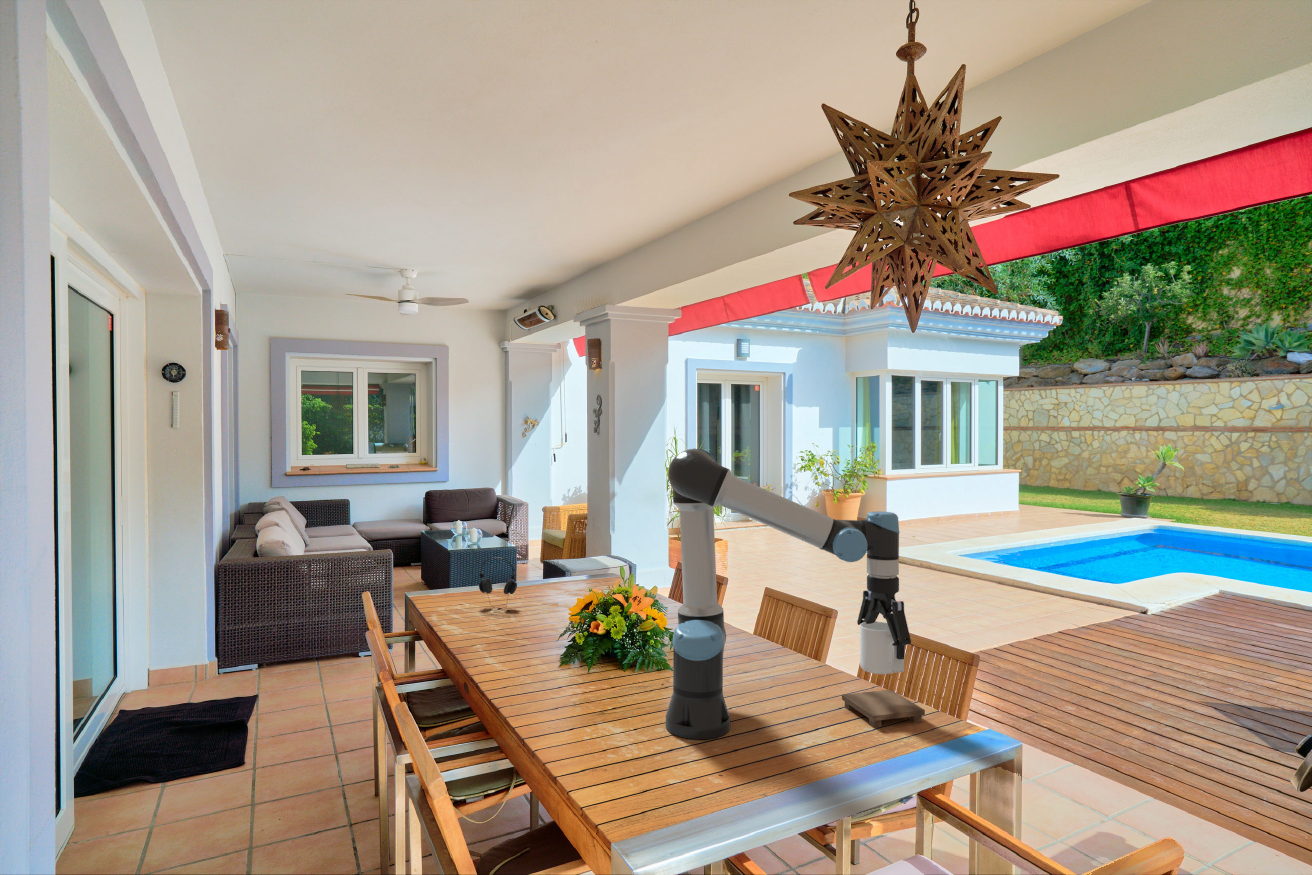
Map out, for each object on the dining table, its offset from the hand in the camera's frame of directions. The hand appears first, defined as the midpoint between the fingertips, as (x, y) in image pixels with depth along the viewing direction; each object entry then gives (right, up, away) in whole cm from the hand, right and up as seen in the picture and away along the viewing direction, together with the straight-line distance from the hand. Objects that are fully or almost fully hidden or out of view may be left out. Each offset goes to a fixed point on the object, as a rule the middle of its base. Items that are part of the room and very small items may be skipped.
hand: (882, 663), depth 175 cm
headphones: (-118, -12, +102) cm, 157 cm away
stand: (0, -12, 0) cm, 12 cm away
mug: (0, -2, 0) cm, 2 cm away
